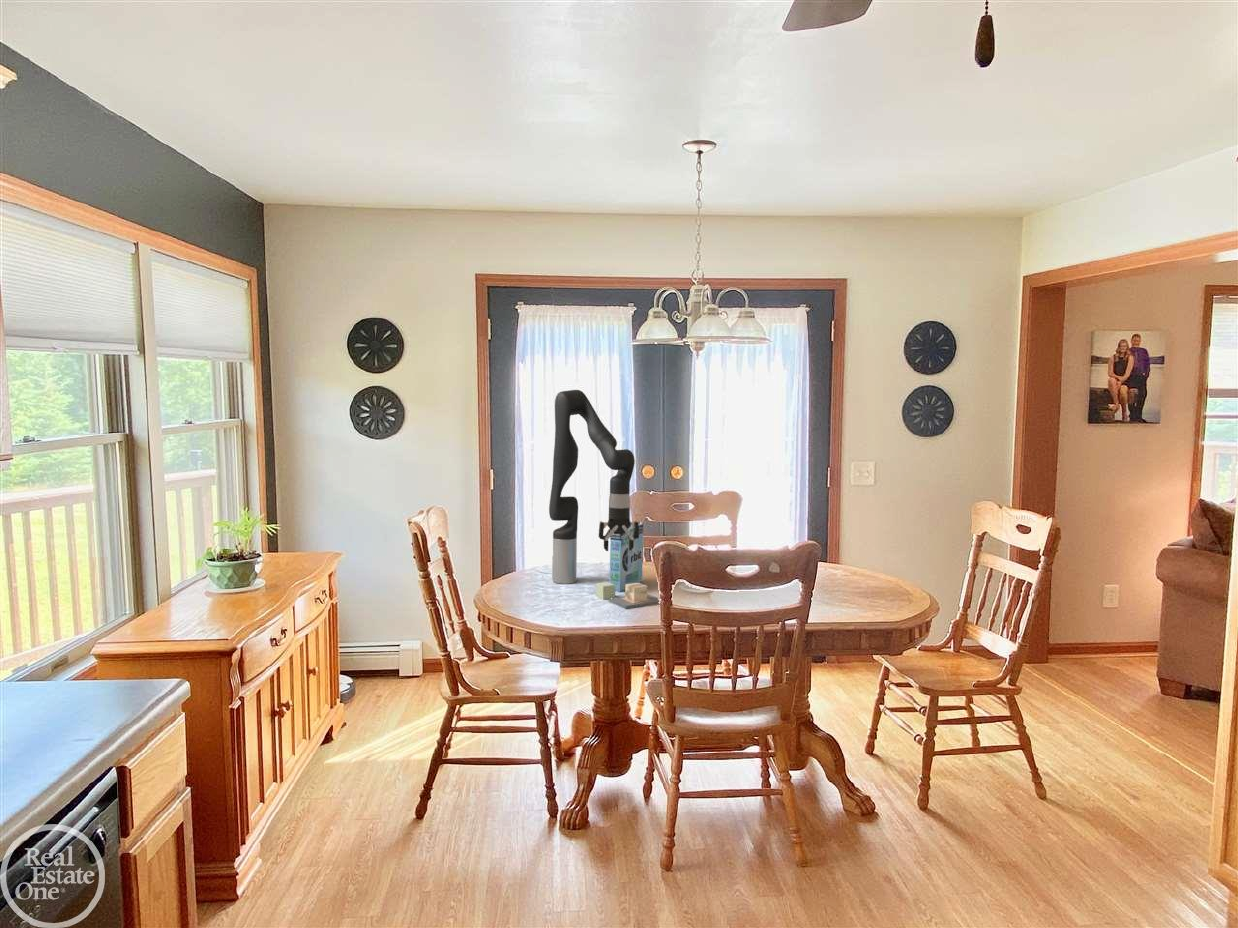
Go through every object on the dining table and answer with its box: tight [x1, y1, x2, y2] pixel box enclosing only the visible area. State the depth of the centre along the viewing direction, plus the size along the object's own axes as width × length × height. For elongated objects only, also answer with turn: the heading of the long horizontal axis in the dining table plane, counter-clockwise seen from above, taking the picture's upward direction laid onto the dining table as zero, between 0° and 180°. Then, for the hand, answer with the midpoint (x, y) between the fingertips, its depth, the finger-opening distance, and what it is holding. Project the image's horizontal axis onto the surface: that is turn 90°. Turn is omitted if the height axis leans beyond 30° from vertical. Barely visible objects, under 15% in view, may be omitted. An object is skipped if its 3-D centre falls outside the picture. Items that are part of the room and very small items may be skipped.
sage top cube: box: [595, 581, 616, 601], centre depth 292 cm, size 5×5×5 cm
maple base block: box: [624, 582, 648, 602], centre depth 286 cm, size 6×6×5 cm
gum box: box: [608, 523, 644, 593], centre depth 309 cm, size 20×5×23 cm, turn 153°
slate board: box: [608, 593, 659, 610], centre depth 286 cm, size 11×16×1 cm
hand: (618, 550), depth 290 cm, fingers open, 8 cm apart
